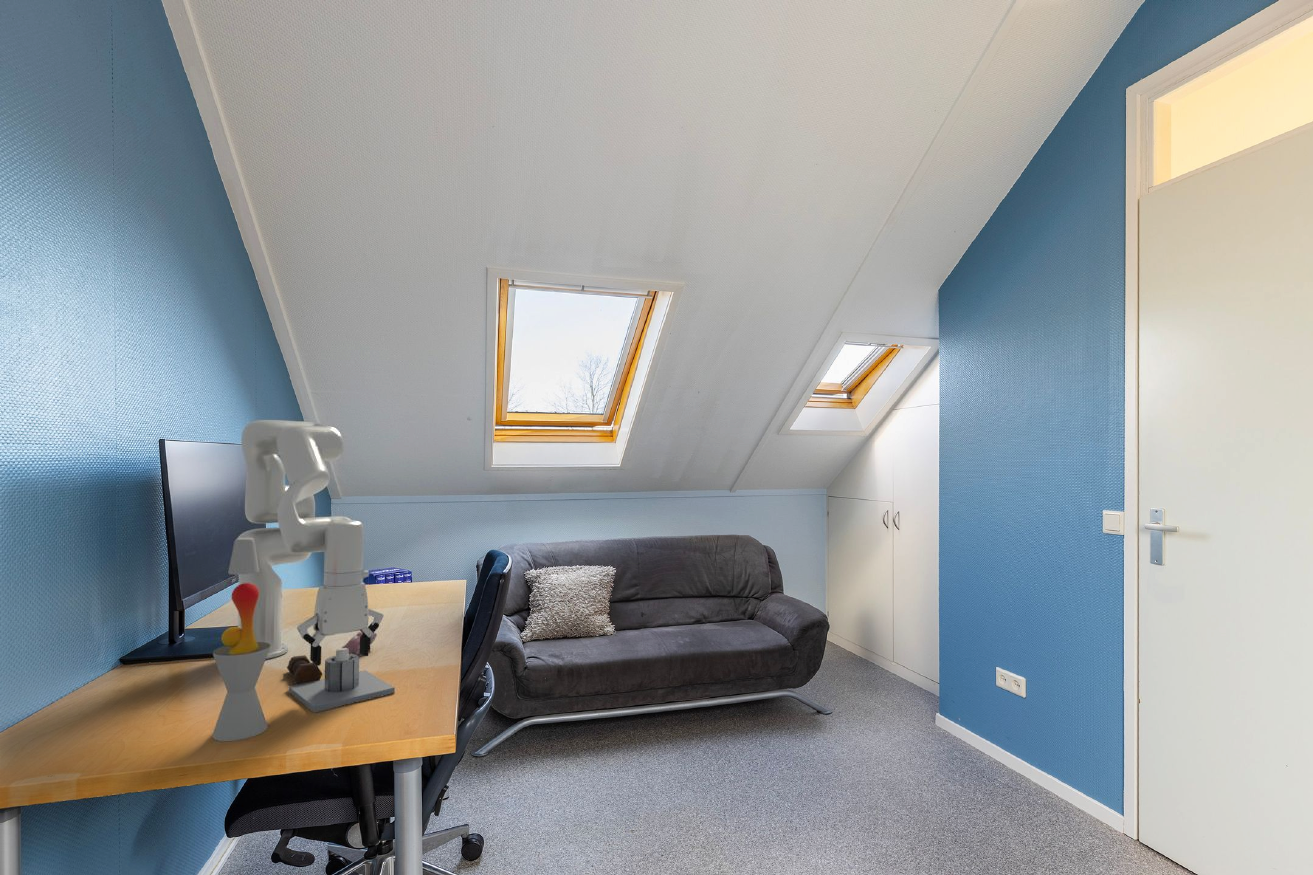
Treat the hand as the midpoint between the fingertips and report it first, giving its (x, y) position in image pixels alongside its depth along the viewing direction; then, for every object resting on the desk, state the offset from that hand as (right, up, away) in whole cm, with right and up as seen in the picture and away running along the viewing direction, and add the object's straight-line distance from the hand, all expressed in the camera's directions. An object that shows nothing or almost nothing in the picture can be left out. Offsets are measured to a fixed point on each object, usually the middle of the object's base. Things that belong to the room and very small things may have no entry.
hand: (340, 659), depth 144 cm
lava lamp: (-9, -7, -21) cm, 23 cm away
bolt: (-13, -8, +9) cm, 17 cm away
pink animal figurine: (-9, -8, +28) cm, 30 cm away
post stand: (0, -7, -1) cm, 7 cm away
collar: (+1, -6, -1) cm, 6 cm away
